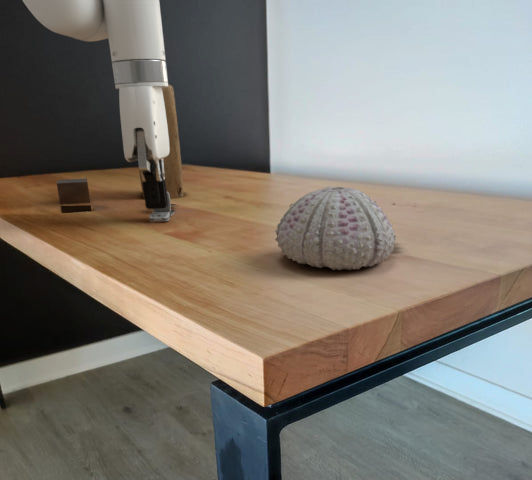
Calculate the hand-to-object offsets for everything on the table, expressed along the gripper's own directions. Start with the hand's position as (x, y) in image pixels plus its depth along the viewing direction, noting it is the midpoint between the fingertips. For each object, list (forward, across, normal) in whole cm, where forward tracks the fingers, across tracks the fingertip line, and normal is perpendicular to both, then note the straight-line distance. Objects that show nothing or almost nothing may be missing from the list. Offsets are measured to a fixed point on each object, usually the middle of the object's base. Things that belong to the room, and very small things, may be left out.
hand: (157, 207), depth 85 cm
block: (+2, -18, -3) cm, 18 cm away
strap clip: (+2, -2, 0) cm, 3 cm away
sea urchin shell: (+3, +25, +26) cm, 36 cm away
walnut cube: (+2, -10, -17) cm, 20 cm away
